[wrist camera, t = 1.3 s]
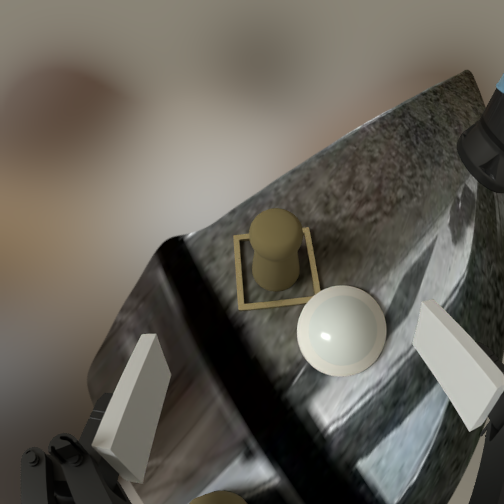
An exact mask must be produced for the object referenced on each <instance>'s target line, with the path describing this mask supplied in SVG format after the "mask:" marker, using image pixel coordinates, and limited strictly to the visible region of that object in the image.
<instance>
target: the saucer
mask: <svg viewBox="0 0 504 504" xmlns="http://www.w3.org/2000/svg"><path fill="white" fill-rule="evenodd" d="M385 340H386V321H385V317H384V314H383V312H382V310H381V308H380V306H379V305H378V303H377V302H376V301H375V300H374V299H373V298H372V297H371V296H370V295H369V294H368V293H366V292H364V291H363V290H361V289H358V288H355V287H352V286H343V285H341V286H333V287H329V288H326V289H324V290H322V291H320V292H319V293H317V294H316V295H314V296H313V297H312V298H311V299H310V300H309V301H308V302H307V304H306V305H305V307H304V308H303V310H302V312H301V314H300V317H299V320H298V324H297V341H298V345H299V348H300V351H301V353H302V355H303V356H304V358H305V359H306V361H307V362H308V363H309V364H310V365H311V366H312V367H313V368H315V369H316V370H318V371H320V372H322V373H324V374H327V375H330V376H339V377H344V376H351V375H355V374H357V373H360V372H362V371H364V370H365V369H367V368H368V367H369V366H371V365H372V364H373V363H374V362H375V361H376V359H377V358H378V357H379V355H380V353H381V351H382V349H383V347H384V344H385Z"/></svg>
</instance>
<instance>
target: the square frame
mask: <svg viewBox="0 0 504 504" xmlns="http://www.w3.org/2000/svg"><path fill="white" fill-rule="evenodd" d="M302 230H303V235H304V237H305V242H306V248H307V253H308V259H309V265H310V271H311V277H312V283H313V289H314V295H316V294H317V293H319V292H320V285H319V280H318V274H317V268H316V262H315V257H314V252H313V246H312V241H311V236H310V231H309V227H308V228H302ZM233 236H234V251H235V266H236V281H237V295H238V308H239V311H248V310H258V309H267V308H277V307H285V306H294V305H302V304H307V302H308V301H309V300H310V299H311V298H312V297H313V296H311V297H303V298H295V299H287V300H278V301H269V302H259V303H249V304H244V292H243V279H242V267H241V253H240V242H241V241H250V237H249V234H242V235H233Z"/></svg>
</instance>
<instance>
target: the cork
mask: <svg viewBox="0 0 504 504" xmlns="http://www.w3.org/2000/svg"><path fill="white" fill-rule="evenodd" d="M249 237H250V243H251V245H252V247H253V249H254V250H255V252H254V258H253V264H252V273H253V276H254V279H255V281H256V282H257V283H258V284H259V285H260V286H261V287H262V288H264V289H266V290H269V291H274V292H276V291H283V290H285V289H288V288H290V287H291V286H292V285H293V284H294V283H295V282H296V280H297V278H298V277H299V272H300V266H299V259H298V252H297V251H298V249H299V248H300V246H301V244H302V239H303V230H302V226H301V223H300V222H299V220H298V218H297V217H296V216H295V215H294V214H292V213H291V212H289V211H287V210H284V209H279V208H273V209H268V210H266V211H263V212H261V213H260V214H259V215H257V216H256V217H255V219H254V220H253V222H252V224H251V227H250V231H249Z"/></svg>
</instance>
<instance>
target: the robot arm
mask: <svg viewBox="0 0 504 504" xmlns="http://www.w3.org/2000/svg"><path fill="white" fill-rule="evenodd" d="M496 87H497V88H496V90H495V92H494V94H493V95H492V98H491V99H490V101H489V103H488V105H487V107H486V109H485V110H484V112H483V114H482V116H481V118H480V119H479V121H477V122H476V123H475V124H473V125H472V126H471V127H469V128H468V129H467V130H465V131H464V132H463V133H462V134H461V136H460V138H459V140H458V142H457V150H458V153H459V156H460V158H461V160H462V162H463V163H464V165H465V166H466V168H467V169H468V170H469V172H470V173H471V174H472V175H473V176H474V177H475V178H476V179H477V180H478V181H479V182H480V183H481V184H483V185H484V186H485V187H487V188H488V189H490V190H492V191H495V192H498V193H503V192H504V74H503V75H502V77H501V79H500V81H499V82H498V83H497V85H496ZM412 344H413V346H414V347H415V349H416V350H417V351H418V353H419V354H420V356H421V357H422V359H423V360H424V361H425V363H426V364H427V366H428V367H429V369H430V370H431V372H432V373H433V375H434V376H435V378H436V379H437V381H438V382H439V384H440V385H441V387H442V388H443V390H444V391H445V393H446V394H447V396H448V397H449V399H450V401H451V402H452V404H453V405H454V407H455V409H456V410H457V412H458V413H459V415H460V417H461V418H462V420H463V422H464V423H465V425H466V427H467V428H468V430H469V432H470V431H472V430H473V429H475V428H477V427H479V426H481V425H482V424H483V422H484V421H485V419H486V418H487V416H488V417H489V419H490V421H489V423H488V424H487V425H486V427H485V428H484V430H483V431H482V432H481V435H480V436H483V434H484V433H485V432H486V430H487V432H486V435H485V437H486V438H485V444H484V449H483V454H482V458H481V463H480V467H479V471H478V475H477V479H476V482H475V486H474V489H473V492H472V496H471V498H470V501H469V504H504V364H503V363H502V362H501V361H499V359H498V358H497V356H496V355H494V353H493V352H492V351H491V350H490V349H489V348H488V347H487V346H485V345H484V344H482V343H480V342H479V343H476V342H475V341H474V340H473V339H472V338H471V337H470V336H469V335H468V334H467V333H466V332H465V331H464V330H463V329H462V327H461V326H460V325H459V324H458V323H457V322H456V321H455V320H454V319H453V318H452V317H451V316H450V315H449V314H448V313H447V312H446V311H445V310H444V309H443V308H442V307H441V306H440V305H439V304H438V303H437V302H436V301H435V300H434V299H432V300H427V301H423V302H422V304H421V309H420V314H419V318H418V323H417V327H416V331H415V336H414V340H413V343H412ZM170 377H171V373H170V371H169V368H168V365H167V363H166V360H165V357H164V355H163V352H162V349H161V346H160V343H159V341H158V338H157V335H156V334H142V335H141V337H140V339H139V341H138V343H137V345H136V347H135V349H134V351H133V353H132V355H131V357H130V359H129V361H128V364H127V366H126V368H125V370H124V372H123V374H122V376H121V378H120V381H119V383H118V385H117V387H116V389H115V391H114V394H112V393H104V394H103V395H102V396H101V397H100V398H99V399H98V400H97V402H96V404H95V406H94V409H93V412H92V413H91V415H90V419H88V422H87V424H86V426H85V428H84V430H83V432H82V435H81V437H80V439H79V441H78V440H77V439H76V438H75V437H74V436H72V435H71V434H67V433H63V434H59V435H57V436H55V437H54V438H53V439H52V440H51V441H50V444H49V446H48V451H49V453H50V454H51V455H46V454H45V453H44V452H43V451H42V450H41V449H40V448H37V447H32V448H29V449H27V450H26V451H25V452H24V454H23V455H22V459H21V504H132V503H131V502H130V500H129V499H128V497H127V495H126V494H125V492H124V490H123V488H122V487H121V485H120V484H119V482H118V481H117V480H118V476H119V475H120V476H121V477H122V478H123V479H125V480H127V481H132V482H137V483H143V479H144V475H145V471H146V467H147V463H148V459H149V454H150V451H151V447H152V443H153V439H154V435H155V431H156V427H157V424H158V420H159V416H160V413H161V409H162V405H163V402H164V398H165V395H166V391H167V387H168V384H169V381H170Z"/></svg>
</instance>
